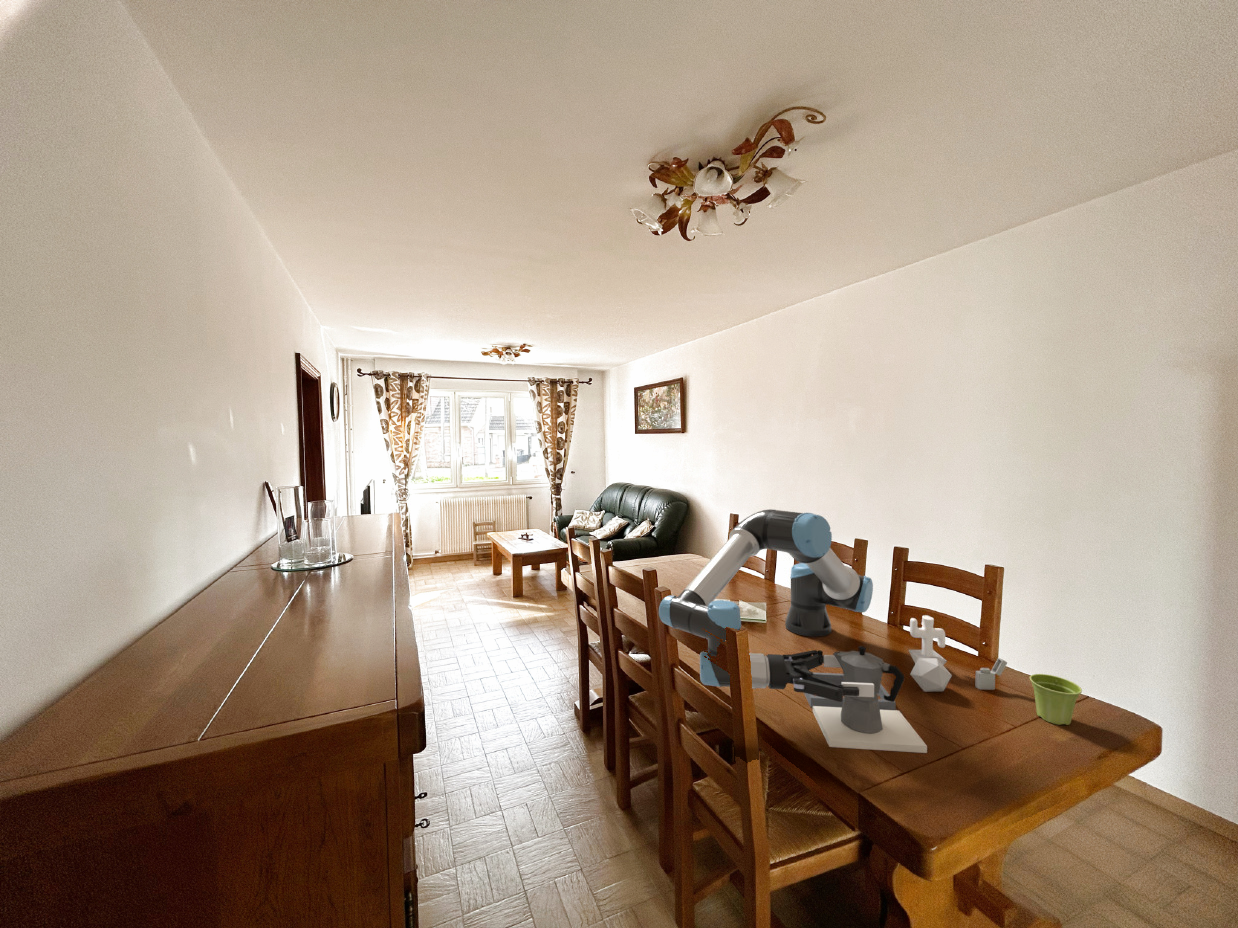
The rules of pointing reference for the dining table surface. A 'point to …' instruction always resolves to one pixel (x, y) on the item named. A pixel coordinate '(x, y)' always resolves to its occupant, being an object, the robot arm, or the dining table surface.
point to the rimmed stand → (832, 703)
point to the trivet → (890, 738)
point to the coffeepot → (865, 669)
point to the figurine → (927, 639)
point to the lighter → (989, 675)
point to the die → (930, 674)
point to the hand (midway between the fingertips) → (862, 675)
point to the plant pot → (1054, 698)
